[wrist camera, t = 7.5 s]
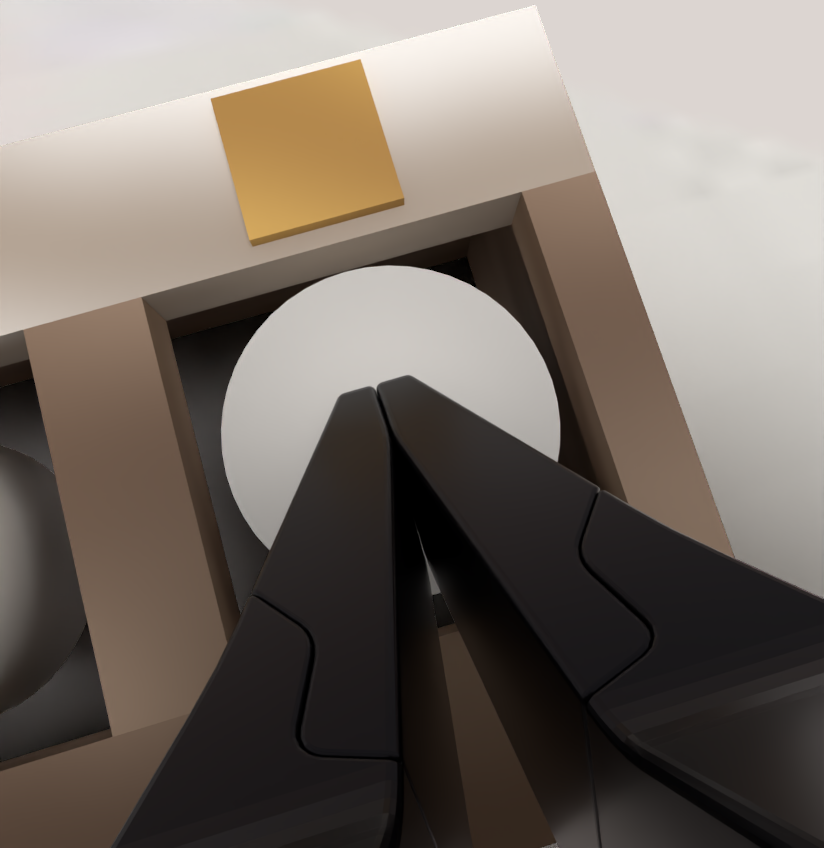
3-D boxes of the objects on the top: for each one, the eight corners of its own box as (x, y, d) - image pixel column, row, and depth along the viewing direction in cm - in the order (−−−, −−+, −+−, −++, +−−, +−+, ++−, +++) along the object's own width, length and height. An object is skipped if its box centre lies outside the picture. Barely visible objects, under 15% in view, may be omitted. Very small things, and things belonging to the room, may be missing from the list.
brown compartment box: (631, 670, 16) (817, 765, 9) (-365, 982, 15) (-1096, 1386, 8) (484, 225, 17) (538, -6, 10) (-425, 477, 16) (-1072, 417, 9)
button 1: (540, 546, 13) (606, 542, 9) (316, 614, 13) (269, 644, 9) (471, 332, 14) (501, 227, 10) (257, 393, 14) (185, 316, 9)
